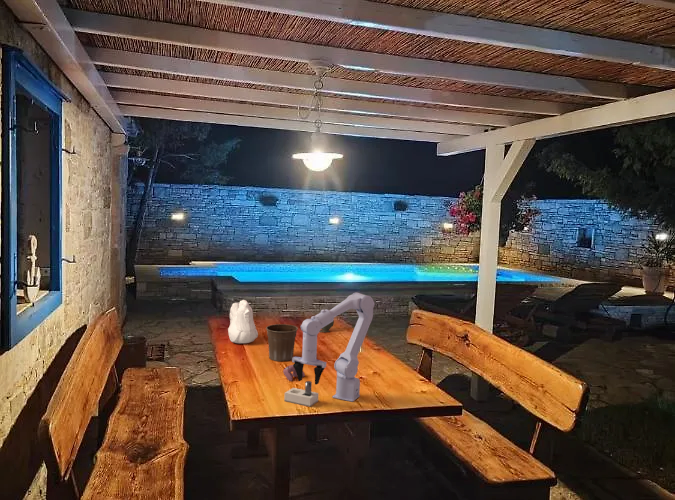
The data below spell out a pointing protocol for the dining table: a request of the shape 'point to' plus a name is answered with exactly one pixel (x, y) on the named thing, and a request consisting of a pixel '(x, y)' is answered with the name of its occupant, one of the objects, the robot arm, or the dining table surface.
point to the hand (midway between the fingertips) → (308, 382)
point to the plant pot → (281, 341)
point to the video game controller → (288, 371)
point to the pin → (308, 388)
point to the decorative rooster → (242, 323)
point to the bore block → (300, 397)
